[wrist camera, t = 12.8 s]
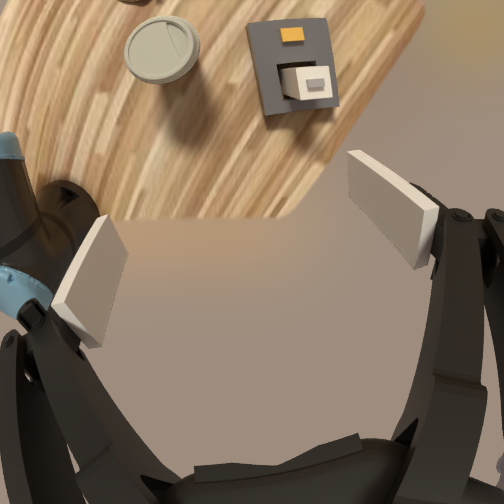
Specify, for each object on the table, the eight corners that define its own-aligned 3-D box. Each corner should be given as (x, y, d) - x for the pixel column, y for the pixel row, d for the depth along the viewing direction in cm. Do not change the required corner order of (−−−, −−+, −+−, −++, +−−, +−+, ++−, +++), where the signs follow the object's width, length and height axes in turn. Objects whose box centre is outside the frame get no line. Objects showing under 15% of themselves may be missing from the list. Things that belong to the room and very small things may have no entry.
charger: (282, 94, 37) (302, 100, 28) (278, 69, 34) (296, 68, 26) (308, 91, 37) (334, 97, 28) (304, 66, 34) (330, 65, 26)
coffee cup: (198, 85, 35) (189, 88, 25) (141, 79, 33) (113, 82, 23) (211, 32, 30) (207, 16, 20) (153, 27, 28) (129, 11, 18)
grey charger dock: (262, 112, 38) (266, 116, 35) (245, 26, 30) (248, 22, 27) (332, 104, 38) (341, 107, 35) (319, 21, 30) (328, 17, 27)
